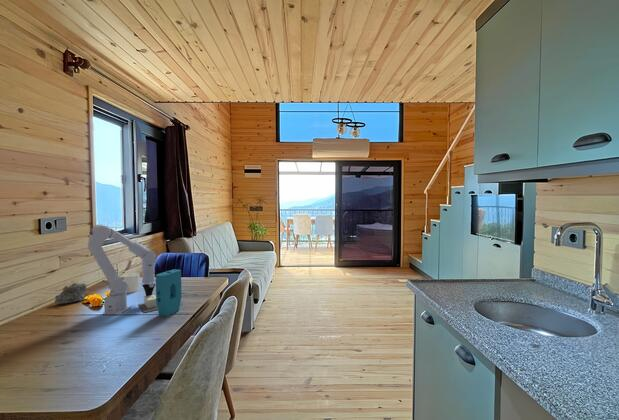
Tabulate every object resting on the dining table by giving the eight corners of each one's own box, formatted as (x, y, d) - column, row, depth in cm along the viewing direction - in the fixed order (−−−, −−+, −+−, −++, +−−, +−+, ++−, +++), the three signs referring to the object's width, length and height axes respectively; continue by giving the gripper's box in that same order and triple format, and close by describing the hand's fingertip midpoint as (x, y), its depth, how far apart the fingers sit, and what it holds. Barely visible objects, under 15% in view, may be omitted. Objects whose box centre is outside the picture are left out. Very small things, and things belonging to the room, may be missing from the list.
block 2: (163, 317, 138) (162, 275, 137) (155, 316, 140) (154, 275, 139) (182, 308, 149) (181, 270, 148) (175, 307, 151) (174, 269, 150)
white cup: (134, 293, 174) (134, 276, 173) (121, 293, 174) (121, 276, 174) (142, 289, 182) (142, 273, 181) (130, 289, 182) (129, 273, 181)
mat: (166, 308, 150) (166, 307, 150) (144, 313, 144) (144, 312, 144) (159, 300, 161) (159, 300, 161) (138, 305, 154) (138, 304, 154)
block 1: (154, 301, 158) (158, 305, 152) (144, 303, 155) (147, 308, 149) (154, 294, 158) (158, 298, 152) (144, 296, 155) (147, 300, 149)
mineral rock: (53, 306, 152) (53, 287, 152) (61, 300, 162) (60, 282, 162) (84, 303, 157) (83, 284, 157) (89, 297, 167) (89, 279, 167)
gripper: (160, 273, 154) (160, 299, 154) (153, 268, 165) (153, 292, 165) (145, 276, 149) (145, 302, 150) (139, 270, 160) (139, 295, 161)
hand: (149, 297), depth 157 cm, fingers closed
